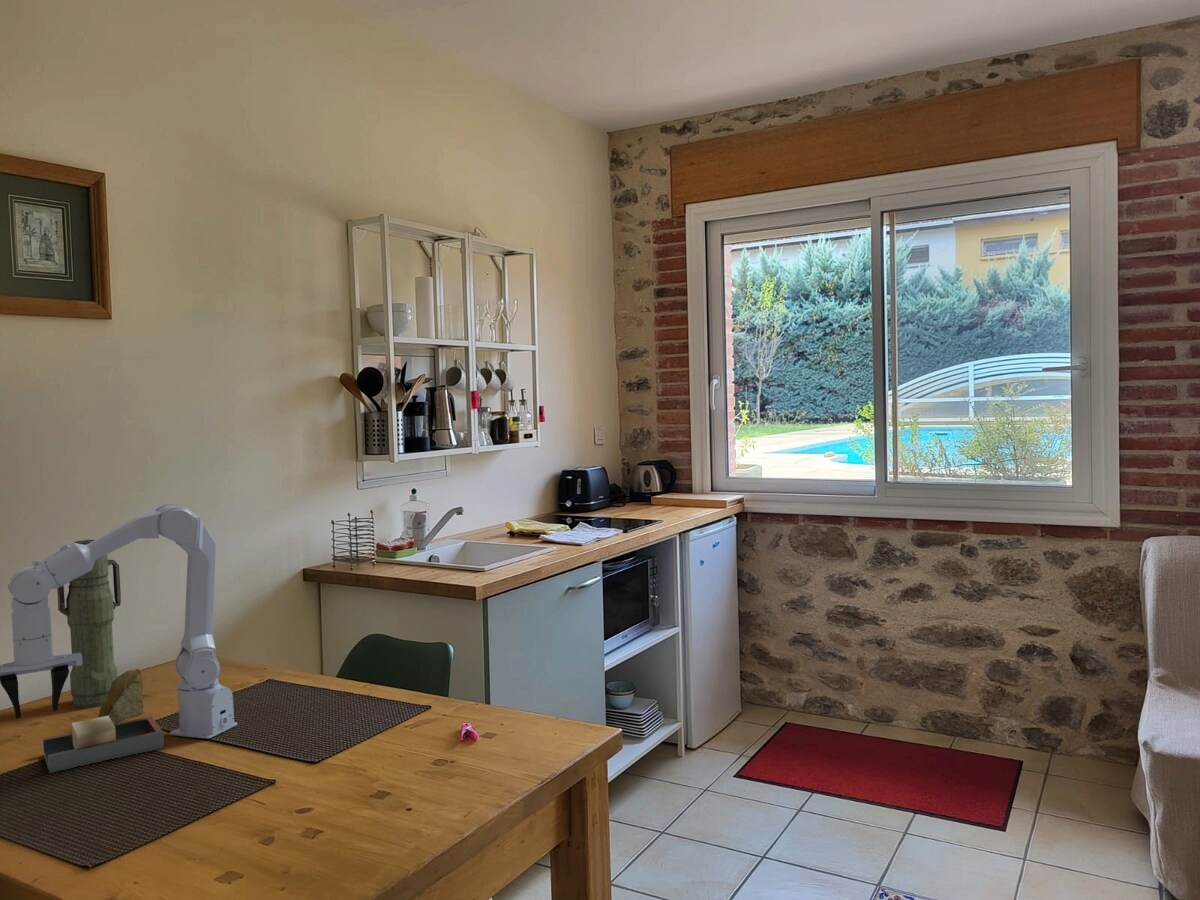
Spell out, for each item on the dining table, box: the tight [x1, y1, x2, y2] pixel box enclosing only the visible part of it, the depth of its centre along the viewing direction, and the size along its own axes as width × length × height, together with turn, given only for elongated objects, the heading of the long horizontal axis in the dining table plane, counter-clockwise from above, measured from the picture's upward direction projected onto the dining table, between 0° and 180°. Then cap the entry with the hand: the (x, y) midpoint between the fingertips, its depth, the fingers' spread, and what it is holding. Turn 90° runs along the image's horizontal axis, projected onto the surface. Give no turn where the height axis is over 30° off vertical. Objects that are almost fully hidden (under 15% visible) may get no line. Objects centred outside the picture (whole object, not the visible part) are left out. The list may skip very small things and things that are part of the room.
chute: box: [42, 716, 165, 774], centre depth 163 cm, size 18×11×3 cm, turn 126°
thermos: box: [56, 539, 122, 709], centre depth 193 cm, size 9×12×35 cm
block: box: [71, 716, 116, 749], centre depth 162 cm, size 6×8×4 cm
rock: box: [97, 668, 144, 724], centre depth 181 cm, size 11×9×10 cm
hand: (36, 713), depth 157 cm, fingers open, 5 cm apart
